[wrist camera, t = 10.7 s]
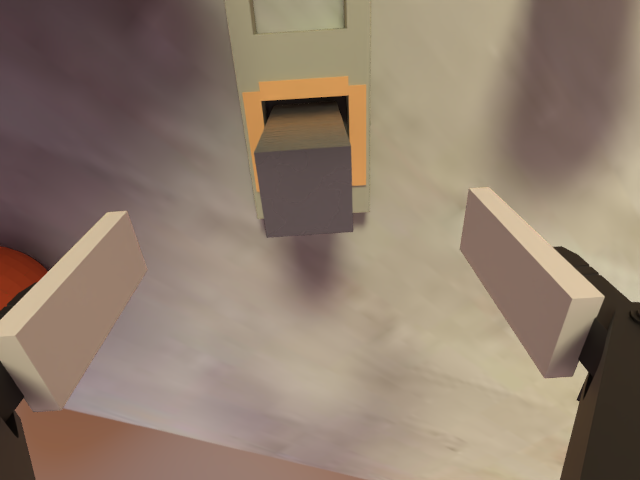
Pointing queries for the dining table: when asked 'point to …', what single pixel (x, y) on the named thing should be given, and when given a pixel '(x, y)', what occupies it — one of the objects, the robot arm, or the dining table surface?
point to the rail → (305, 79)
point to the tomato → (17, 273)
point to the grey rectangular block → (305, 171)
